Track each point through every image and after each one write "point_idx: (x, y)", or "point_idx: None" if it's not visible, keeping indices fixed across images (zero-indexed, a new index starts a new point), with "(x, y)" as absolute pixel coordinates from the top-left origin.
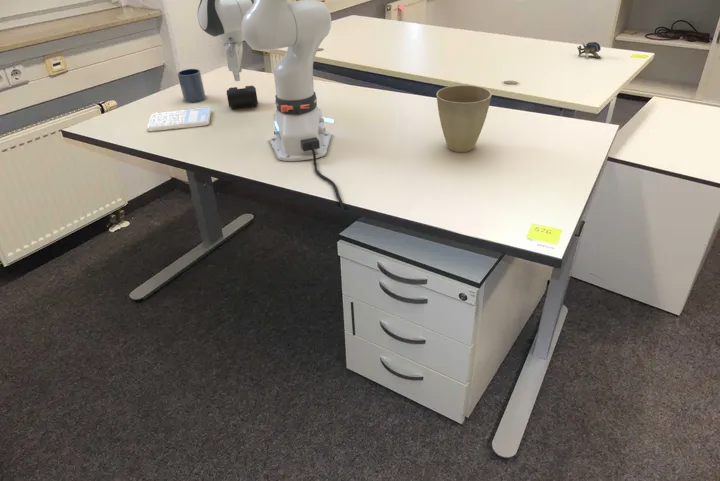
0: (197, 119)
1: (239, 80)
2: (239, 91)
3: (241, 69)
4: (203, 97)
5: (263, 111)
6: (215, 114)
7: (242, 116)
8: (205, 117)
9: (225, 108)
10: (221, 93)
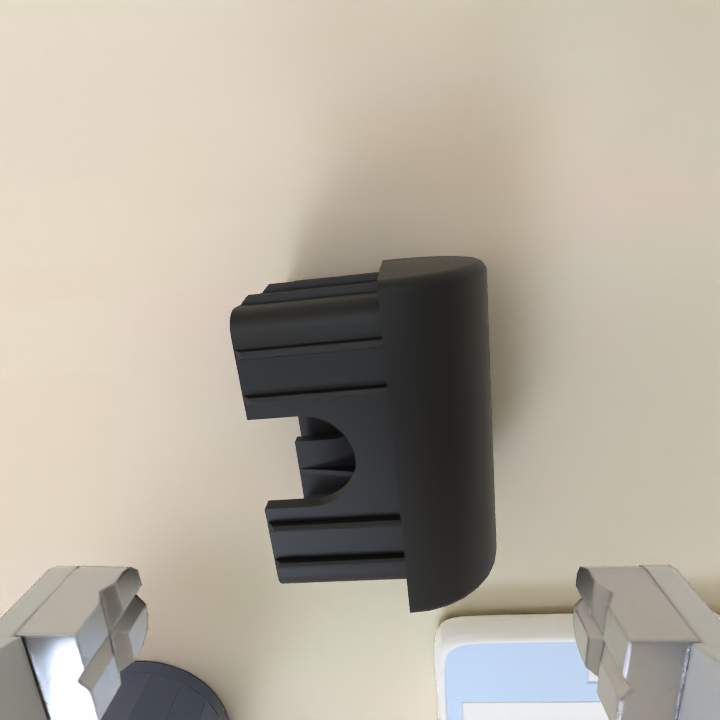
0: None
1: (670, 570)
2: (453, 475)
3: (65, 581)
4: (170, 683)
5: (552, 193)
6: (502, 579)
7: (620, 381)
8: None
9: None
10: None
